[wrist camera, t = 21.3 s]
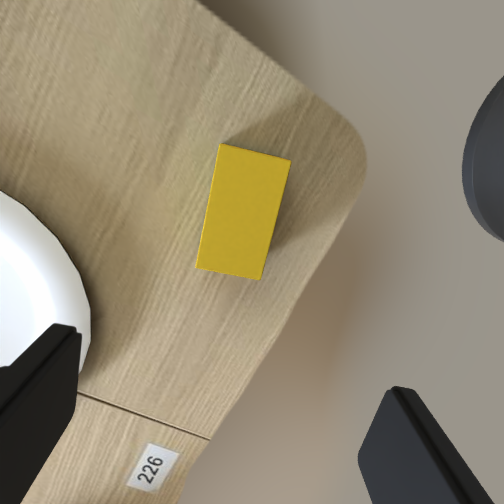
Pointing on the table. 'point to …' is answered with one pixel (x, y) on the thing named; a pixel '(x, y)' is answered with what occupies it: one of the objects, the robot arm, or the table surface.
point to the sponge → (241, 211)
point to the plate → (36, 283)
